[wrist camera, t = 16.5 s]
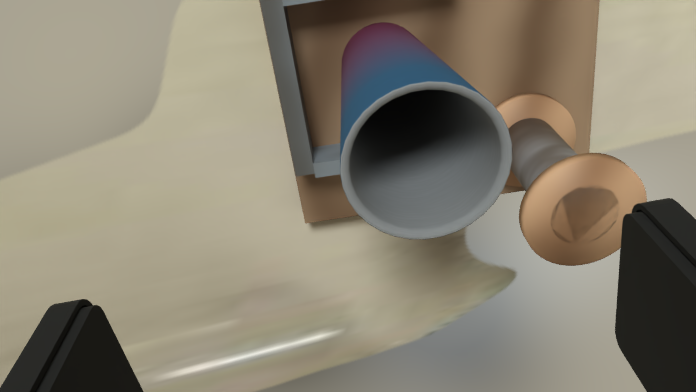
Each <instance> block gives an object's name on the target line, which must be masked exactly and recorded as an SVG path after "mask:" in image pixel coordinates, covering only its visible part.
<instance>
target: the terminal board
mask: <svg viewBox="0 0 696 392" xmlns="http://www.w3.org/2000/svg"><path fill="white" fill-rule="evenodd" d="M259 2H260V7H261V12H262V16H263V21H264V26H265V31H266V36H267V41H268V45H269V50H270V55H271V60H272V65H273V70H274V74H275V79H276V84H277V89H278V94H279V98H280V103H281V108H282V113H283V118H284V123H285V127H286V132H287V137H288V142H289V147H290V152H291V156H292V161H293V166H294V171H295V176H296V181H297V185H298V190H299V195H300V200H301V205H302V210H303V214H304V219H305V223H311V222H317V221H324V220H331V219H337V218H344V217H351V216H357V215H358V214H357V213H356V211H355V210H354V208H353V207H352V206H351V204H350V203H349V201H348V199H347V197H346V194H345V192H344V189H343V187H342V181H341V176H340V132H341V69H342V56H343V52H344V49H345V47H346V45H347V43H348V42H349V40H350V39H351V38H352V36H353V35H354V34H356V33H357V32H358V31H359V30H361V29H362V28H364V27H366V26H368V25H371V24H374V23H380V22H386V23H393V24H397V25H399V26H401V27H403V28H405V29H406V30H408V31H409V32H410V33H411V34H413V35H414V36H415V37H416V38H417V39H418V40H420V41H421V42H422V43H423V44H424V45H425V46H426V47H428V48H429V49H430V50H431V51H432V52H433V53H435V54H436V55H437V56H438V57H439V58H440V59H441V60H443V61H444V62H445V63H446V64H447V65H448V66H450V67H451V68H452V69H453V70H454V71H455V72H456V73H458V74H459V75H460V76H461V77H462V78H463V79H465V80H466V81H467V82H468V83H469V84H470V85H471V86H473V87H474V88H475V89H476V90H477V91H478V92H480V93H481V94H482V95H483V96H484V97H485V98H486V99H488V100H489V101H490V102H491V103H492V104H493V105H494V107H495V108H496V109H497V110H498V111H499V113H500V114H501V115H502V117H503V119H504V121H505V123H506V125H507V127H508V130H509V134H510V138H511V142H512V163H511V168H510V173H509V176H508V179H507V181H506V184H505V186H504V189H503V190H502V192H501V194H504V193H511V192H517V191H524V190H525V191H526V193H525V195H524V197H523V200H522V202H521V206H520V211H519V212H520V213H519V223H520V227H521V230H522V233H523V235H524V237H525V238H526V240H527V242H528V244H529V245H530V247H531V248H532V249H533V250H534V252H535V253H536V254H538V255H539V256H540V257H542V258H544V259H545V260H547V261H550V262H552V263H556V264H559V265H568V266H575V265H583V264H588V263H592V262H595V261H598V260H601V259H603V258H605V257H607V256H609V255H611V254H612V253H614V252H615V251H617V250H618V249H620V248H621V235H622V222H623V217H624V215H626V214H629V213H632V209H633V207H634V205H636V204H638V203H644V202H647V198H646V191H645V188H644V185H643V183H642V181H641V179H640V178H639V177H638V176H637V174H636V173H635V172H634V171H633V170H632V169H631V168H629V167H628V166H627V165H626V164H625V163H624V162H622V161H621V160H619V159H617V158H615V157H613V156H609V155H606V154H601V153H589V146H590V131H591V116H592V102H593V87H594V72H595V58H596V43H597V28H598V14H599V0H259Z"/></svg>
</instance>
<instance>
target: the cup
mask: <svg viewBox="0 0 696 392" xmlns="http://www.w3.org/2000/svg"><path fill="white" fill-rule="evenodd" d="M511 163H512V142H511V138H510V134H509V130H508V127H507V125H506V123H505V121H504V119H503V117H502V115H501V114H500V113H499V111H498V110H497V109H496V108H495V107H494V105H493V104H492V103H491V102H490V101H489V100H488V99H486V98H485V97H484V96H483V95H482V94H481V93H480V92H478V91H477V90H476V89H475V88H474V87H473V86H471V85H470V84H469V83H468V82H467V81H466V80H465V79H463V78H462V77H461V76H460V75H459V74H458V73H456V72H455V71H454V70H453V69H452V68H451V67H450V66H448V65H447V64H446V63H445V62H444V61H443V60H441V59H440V58H439V57H438V56H437V55H436V54H435V53H433V52H432V51H431V50H430V49H429V48H428V47H426V46H425V45H424V44H423V43H422V42H421V41H420V40H418V39H417V38H416V37H415V36H414V35H413V34H411V33H410V32H409V31H408V30H406V29H405V28H403V27H401V26H399V25H397V24H393V23H386V22H380V23H374V24H371V25H368V26H366V27H364V28H362V29H361V30H359V31H358V32H357V33H356V34H354V35H353V36H352V38H351V39H350V40H349V42H348V43H347V45H346V47H345V49H344V52H343V56H342V69H341V132H340V176H341V181H342V187H343V189H344V192H345V194H346V197H347V199H348V201H349V203H350V204H351V206H352V207H353V208H354V210H355V211H356V213H357V214H358V215H359V216H360V217H362V218H363V219H364V220H365V221H366V222H367V223H368V224H370V225H371V226H373V227H375V228H376V229H378V230H380V231H382V232H384V233H387V234H390V235H392V236H395V237H401V238H406V239H430V238H436V237H442V236H445V235H448V234H451V233H454V232H457V231H459V230H461V229H462V228H464V227H466V226H468V225H470V224H472V223H473V222H474V221H475V220H477V219H478V218H479V217H481V216H482V215H483V214H484V213H485V212H486V211H487V210H488V209H489V208H490V207H491V206H492V205H493V204H494V203H495V201H496V200H497V198H498V197H499V195H500V194H501V192H502V190H503V189H504V186H505V184H506V181H507V179H508V176H509V173H510V168H511Z"/></svg>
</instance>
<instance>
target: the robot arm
mask: <svg viewBox="0 0 696 392" xmlns="http://www.w3.org/2000/svg"><path fill="white" fill-rule="evenodd" d="M615 334H616V339H617V342H618V345H619V347H620V349H621V351H622V353H623V354H624V356H625V357H626V359H627V361H628V362H629V364H630V365H631V367H632V369H633V370H634V372H635V373H636V375H637V377H638V378H639V380H640V381H641V383H642V384H643V386H644V388H645V389H646V391H647V392H696V219H694V217H693V216H692V215H691V214H689V213H688V212H687V211H686V210H685V209H684V208H683V207H682V206H681V205H680V204H679V203H678V202H676V201H675V200H673V199H670V198H667V199H662V200H655V201H650V202H644V203H638V204H636V205H634V207H633V209H632V213H629V214H626V215H624V217H623V222H622V235H621V250H620V265H619V280H618V296H617V309H616V324H615ZM0 392H143V390H142V388H141V386H140V384H139V382H138V380H137V378H136V376H135V374H134V372H133V370H132V368H131V366H130V364H129V362H128V360H127V358H126V356H125V354H124V352H123V350H122V348H121V346H120V344H119V342H118V340H117V338H116V336H115V334H114V332H113V330H112V328H111V326H110V324H109V322H108V320H107V318H106V315H105V313H104V311H103V310H102V308H101V307H100V306H98V305H94V306H93V305H92V304H91V302H89V301H88V300H86V299H81V300H76V301H70V302H64V303H58V304H54V305H52V306H50V307H49V309H48V310H47V311H46V313H45V315H44V316H43V318H42V320H41V321H40V323H39V325H38V326H37V328H36V330H35V331H34V333H33V335H32V336H31V338H30V340H29V341H28V343H27V345H26V346H25V348H24V349H23V351H22V353H21V354H20V356H19V358H18V359H17V361H16V363H15V364H14V366H13V368H12V369H11V371H10V373H9V374H8V376H7V378H6V379H5V381H4V383H3V384H2V386H1V388H0Z"/></svg>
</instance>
